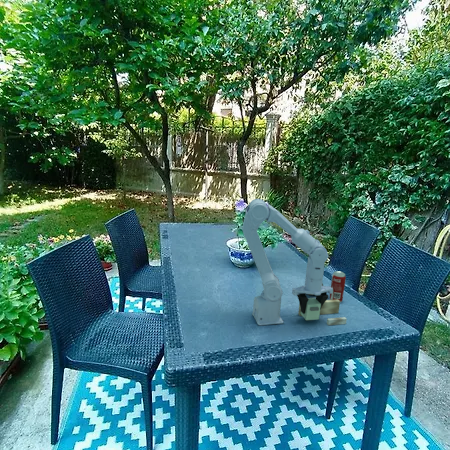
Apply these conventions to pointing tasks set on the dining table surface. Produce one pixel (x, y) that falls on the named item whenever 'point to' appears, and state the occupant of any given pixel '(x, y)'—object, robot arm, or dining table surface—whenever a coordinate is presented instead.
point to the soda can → (337, 286)
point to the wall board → (330, 312)
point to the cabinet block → (312, 309)
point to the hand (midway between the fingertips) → (310, 311)
